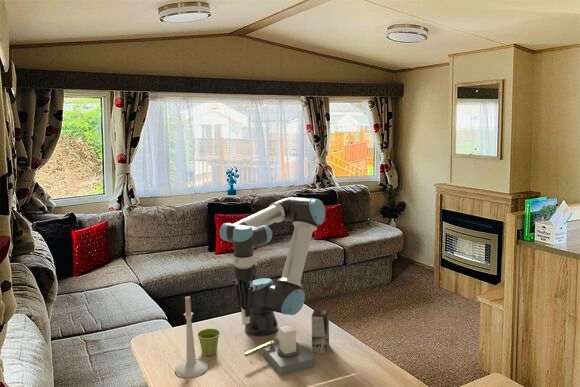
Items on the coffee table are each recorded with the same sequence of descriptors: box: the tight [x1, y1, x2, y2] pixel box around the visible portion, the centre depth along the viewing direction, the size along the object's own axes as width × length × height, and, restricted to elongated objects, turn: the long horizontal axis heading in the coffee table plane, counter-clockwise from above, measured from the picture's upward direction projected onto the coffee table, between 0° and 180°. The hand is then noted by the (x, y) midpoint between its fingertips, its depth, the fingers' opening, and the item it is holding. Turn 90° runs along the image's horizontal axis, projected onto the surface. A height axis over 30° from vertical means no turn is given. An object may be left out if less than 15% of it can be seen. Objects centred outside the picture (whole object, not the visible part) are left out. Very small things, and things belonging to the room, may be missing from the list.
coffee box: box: [311, 308, 330, 354], centre depth 205 cm, size 9×6×16 cm
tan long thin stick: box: [244, 339, 276, 357], centre depth 195 cm, size 15×2×1 cm, turn 135°
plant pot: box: [196, 328, 221, 357], centre depth 204 cm, size 9×9×9 cm
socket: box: [262, 341, 315, 376], centre depth 195 cm, size 18×14×5 cm
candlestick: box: [174, 295, 209, 378], centre depth 189 cm, size 13×13×30 cm
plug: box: [277, 324, 298, 358], centre depth 194 cm, size 8×8×14 cm
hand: (246, 323), depth 194 cm, fingers closed
